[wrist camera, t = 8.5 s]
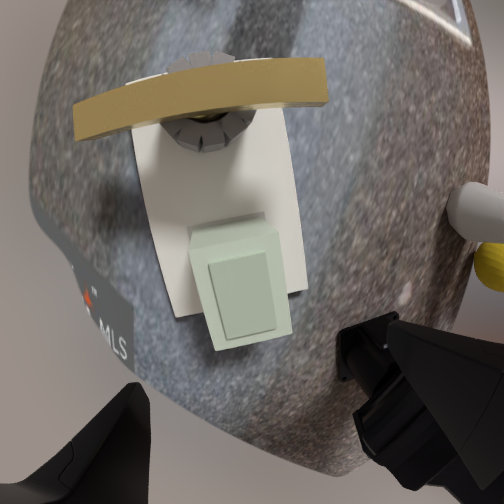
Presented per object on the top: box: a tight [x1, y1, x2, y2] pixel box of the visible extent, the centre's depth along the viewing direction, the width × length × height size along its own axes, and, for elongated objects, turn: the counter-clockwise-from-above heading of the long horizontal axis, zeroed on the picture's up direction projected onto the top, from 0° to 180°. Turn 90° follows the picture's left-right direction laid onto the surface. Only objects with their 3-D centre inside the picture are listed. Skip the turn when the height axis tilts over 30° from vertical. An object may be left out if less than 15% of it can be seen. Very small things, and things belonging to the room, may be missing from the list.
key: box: [73, 58, 329, 142], centre depth 13 cm, size 12×2×6 cm, turn 94°
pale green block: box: [188, 217, 292, 351], centre depth 17 cm, size 6×4×5 cm
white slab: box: [126, 51, 308, 317], centre depth 16 cm, size 17×10×5 cm, turn 10°
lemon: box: [474, 242, 504, 292], centre depth 21 cm, size 6×6×8 cm
